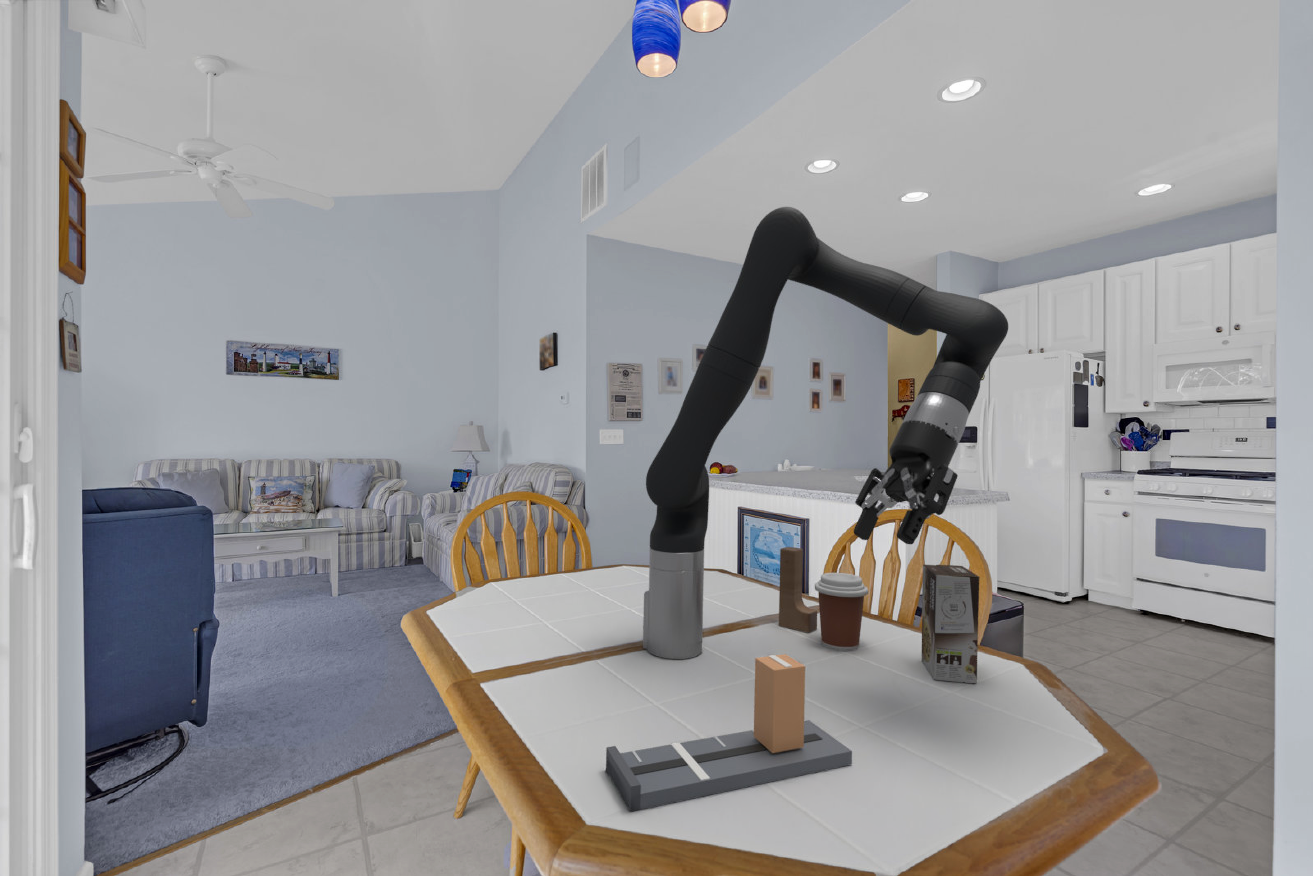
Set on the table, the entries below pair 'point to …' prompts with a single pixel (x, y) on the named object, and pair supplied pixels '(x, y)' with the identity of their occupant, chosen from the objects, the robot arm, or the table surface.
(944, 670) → the coffee box
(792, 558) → the wooden block
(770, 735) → the fader tab
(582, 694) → the table surface
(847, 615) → the coffee cup
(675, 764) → the fader rail
